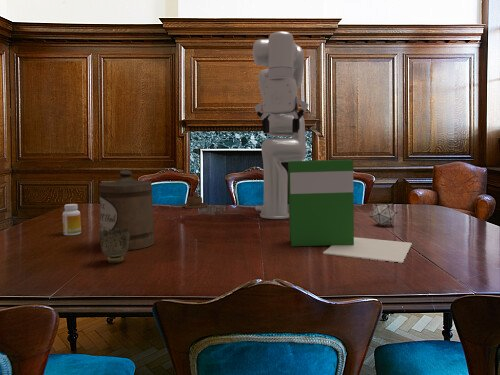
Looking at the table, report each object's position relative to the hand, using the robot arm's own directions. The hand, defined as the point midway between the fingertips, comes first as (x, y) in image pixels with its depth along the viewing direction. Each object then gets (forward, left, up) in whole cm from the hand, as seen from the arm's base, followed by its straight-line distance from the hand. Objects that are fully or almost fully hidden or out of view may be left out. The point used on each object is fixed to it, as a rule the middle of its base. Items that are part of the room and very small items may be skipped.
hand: (280, 132), depth 125 cm
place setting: (-62, +46, -33) cm, 84 cm away
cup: (-26, -43, -33) cm, 60 cm away
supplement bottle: (-63, -25, -33) cm, 75 cm away
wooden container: (-36, -28, -33) cm, 56 cm away
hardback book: (+14, -2, -32) cm, 35 cm away
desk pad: (+28, -2, -33) cm, 43 cm away
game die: (+26, +34, -33) cm, 54 cm away
